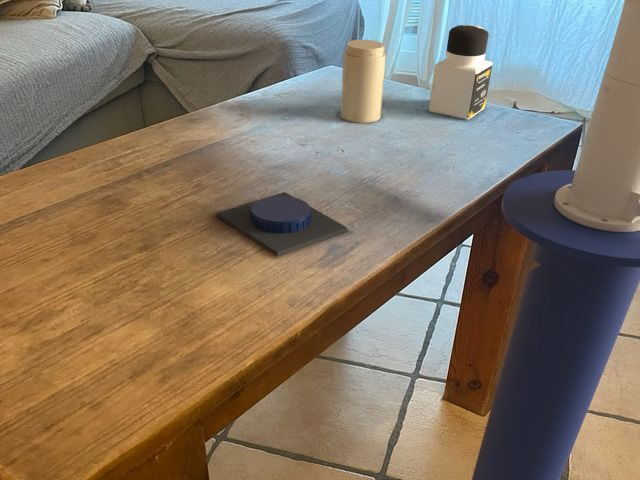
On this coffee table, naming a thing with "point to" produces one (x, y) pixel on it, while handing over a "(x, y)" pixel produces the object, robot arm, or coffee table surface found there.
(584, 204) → the robot arm
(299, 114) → the coffee table surface
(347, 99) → the jar
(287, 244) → the mat
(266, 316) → the coffee table surface
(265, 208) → the lid
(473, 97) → the medicine bottle
